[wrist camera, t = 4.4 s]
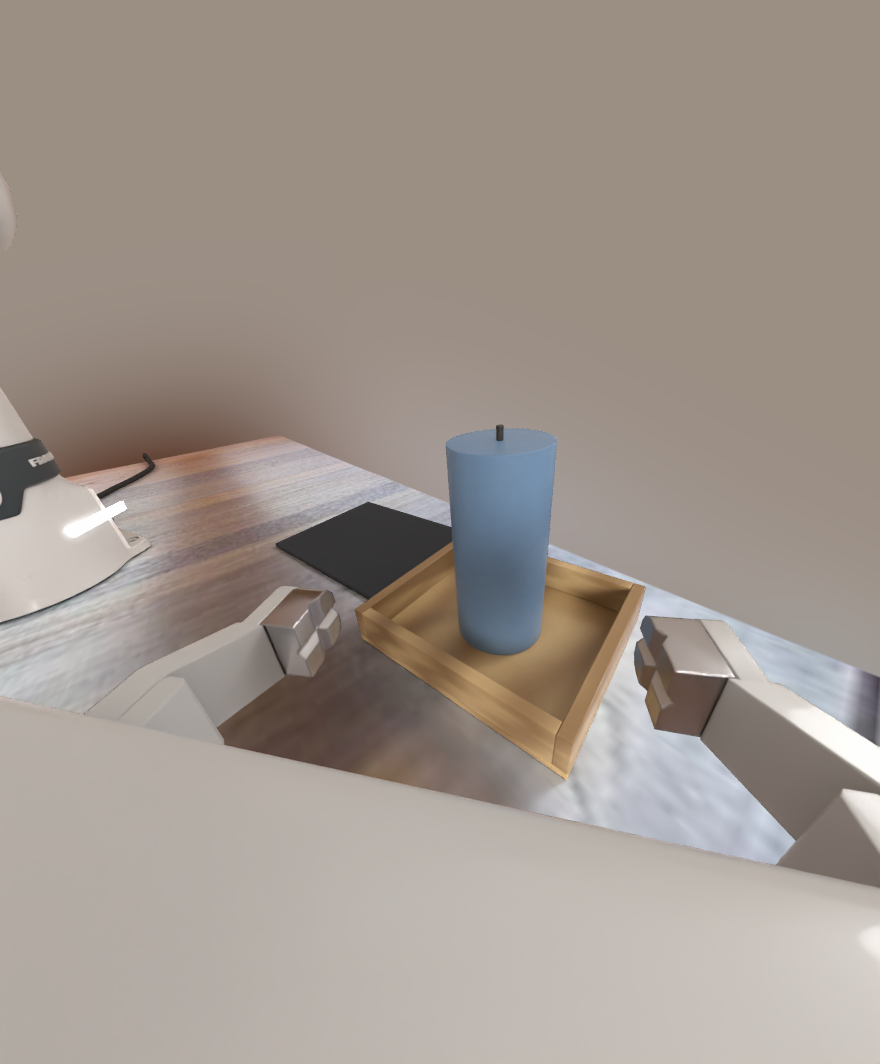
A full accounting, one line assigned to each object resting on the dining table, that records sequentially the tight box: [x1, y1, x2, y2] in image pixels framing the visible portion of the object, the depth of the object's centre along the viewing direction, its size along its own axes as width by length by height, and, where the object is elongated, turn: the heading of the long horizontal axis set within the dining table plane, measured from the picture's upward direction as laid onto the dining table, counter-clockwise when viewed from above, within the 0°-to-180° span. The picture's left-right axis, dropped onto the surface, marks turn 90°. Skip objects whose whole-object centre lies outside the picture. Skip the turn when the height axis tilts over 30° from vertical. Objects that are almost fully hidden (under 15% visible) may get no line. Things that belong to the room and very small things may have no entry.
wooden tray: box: [355, 541, 646, 780], centre depth 24 cm, size 16×14×3 cm
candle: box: [446, 425, 557, 655], centre depth 22 cm, size 6×6×14 cm
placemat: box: [276, 502, 453, 599], centre depth 39 cm, size 18×14×1 cm
